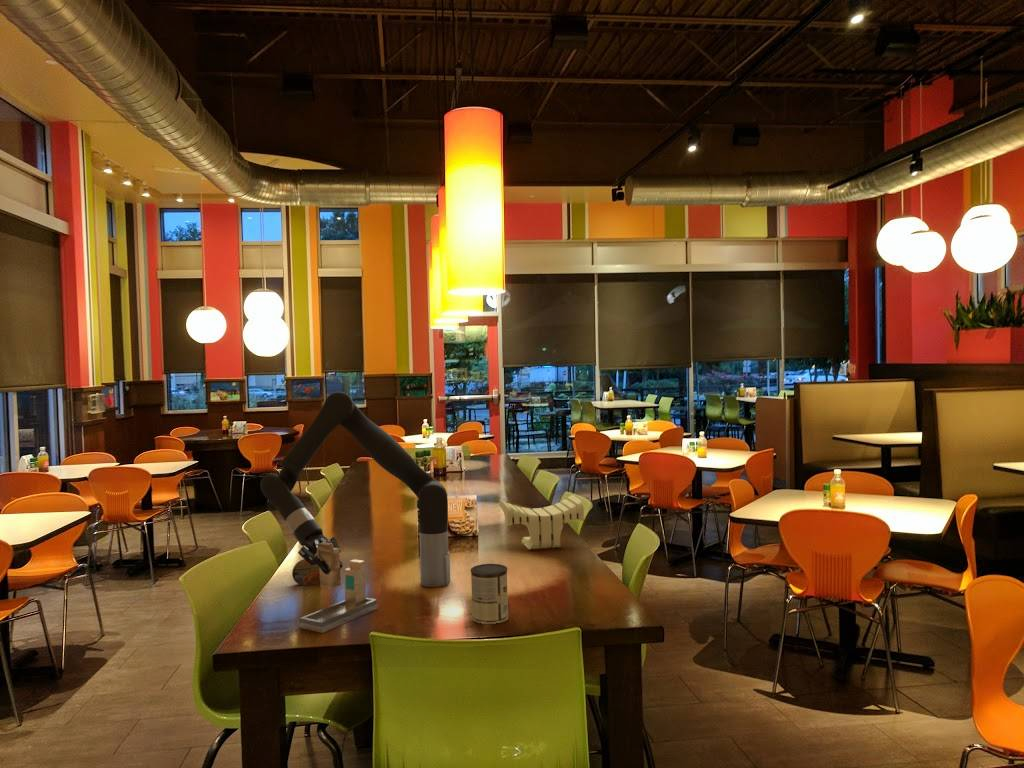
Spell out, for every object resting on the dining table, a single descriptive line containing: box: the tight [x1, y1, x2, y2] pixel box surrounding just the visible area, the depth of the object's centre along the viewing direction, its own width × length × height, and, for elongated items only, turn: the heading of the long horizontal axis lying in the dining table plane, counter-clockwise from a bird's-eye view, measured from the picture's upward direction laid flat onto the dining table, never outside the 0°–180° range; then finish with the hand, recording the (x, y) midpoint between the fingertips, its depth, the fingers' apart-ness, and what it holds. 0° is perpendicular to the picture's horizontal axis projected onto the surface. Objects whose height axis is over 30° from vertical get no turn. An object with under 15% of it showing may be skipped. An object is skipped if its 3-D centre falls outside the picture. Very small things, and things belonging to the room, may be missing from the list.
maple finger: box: [318, 542, 342, 590], centre depth 217 cm, size 4×4×13 cm
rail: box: [299, 558, 378, 634], centre depth 208 cm, size 22×8×14 cm, turn 149°
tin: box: [291, 558, 320, 586], centre depth 243 cm, size 15×3×8 cm, turn 105°
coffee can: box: [470, 563, 509, 625], centre depth 205 cm, size 10×10×14 cm
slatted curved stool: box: [498, 494, 585, 550], centre depth 286 cm, size 30×16×18 cm, turn 101°
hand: (334, 570), depth 216 cm, fingers closed on maple finger, 4 cm apart
